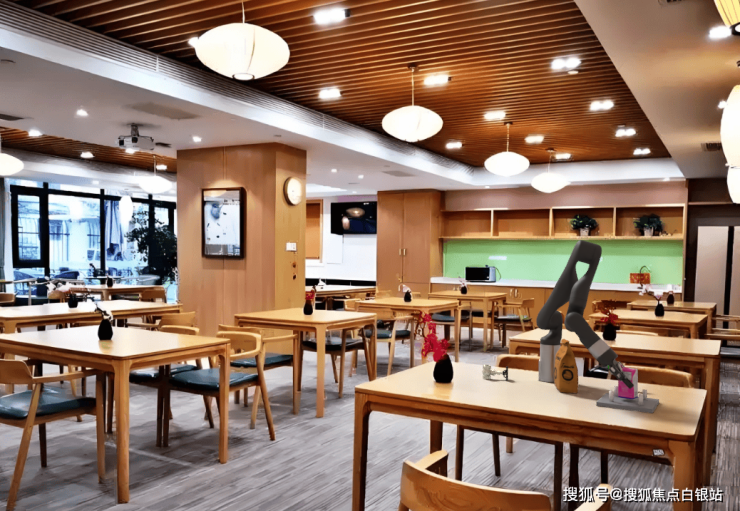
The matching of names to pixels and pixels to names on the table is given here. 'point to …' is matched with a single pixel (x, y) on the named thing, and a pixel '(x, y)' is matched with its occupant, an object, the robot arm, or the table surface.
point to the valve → (493, 372)
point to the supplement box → (623, 389)
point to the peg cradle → (628, 402)
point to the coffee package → (566, 369)
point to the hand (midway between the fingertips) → (633, 385)
